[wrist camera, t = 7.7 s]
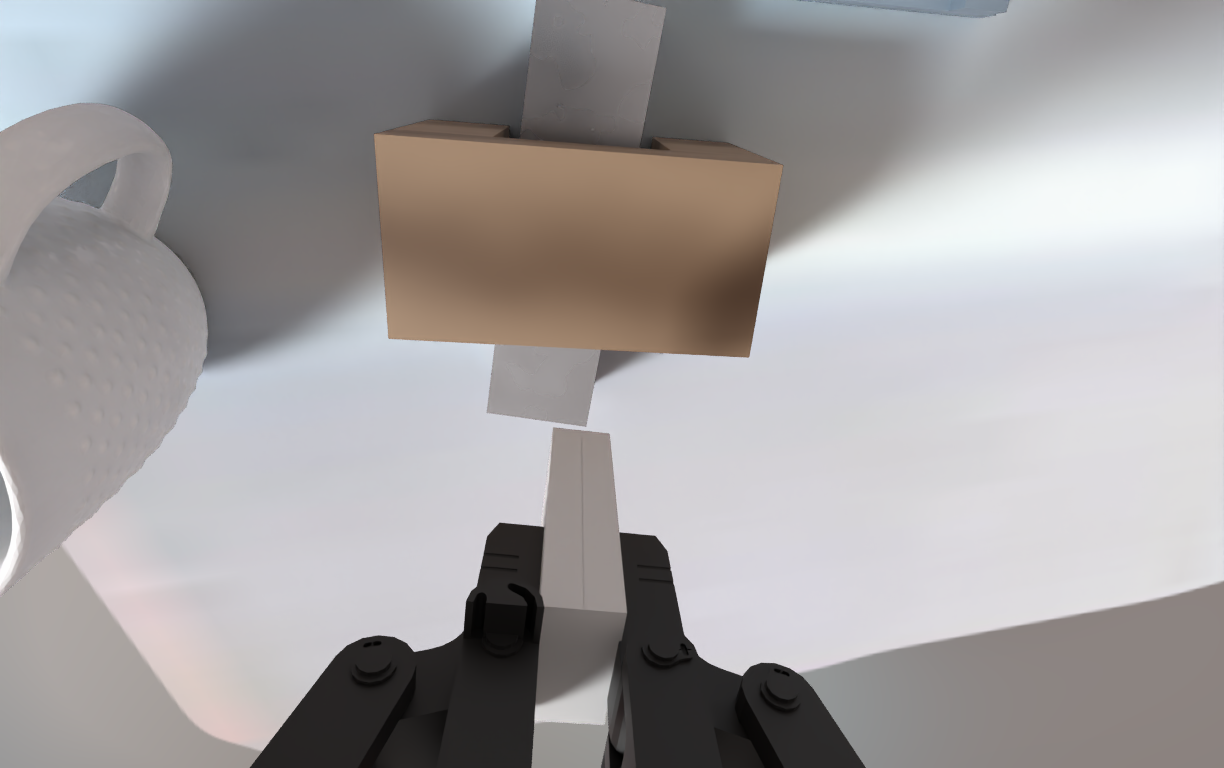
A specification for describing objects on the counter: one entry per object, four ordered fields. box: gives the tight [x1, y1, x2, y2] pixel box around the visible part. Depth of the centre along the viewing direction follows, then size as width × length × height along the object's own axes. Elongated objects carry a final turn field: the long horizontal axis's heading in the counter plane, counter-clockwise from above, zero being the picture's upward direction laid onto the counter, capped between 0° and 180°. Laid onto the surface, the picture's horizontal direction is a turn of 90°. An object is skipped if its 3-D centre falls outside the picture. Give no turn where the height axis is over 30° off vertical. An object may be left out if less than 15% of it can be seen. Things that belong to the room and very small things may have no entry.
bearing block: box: [374, 119, 783, 357], centre depth 23 cm, size 6×12×8 cm, turn 86°
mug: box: [0, 103, 208, 597], centre depth 20 cm, size 15×11×13 cm
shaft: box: [487, 0, 667, 427], centre depth 25 cm, size 15×4×4 cm, turn 169°
